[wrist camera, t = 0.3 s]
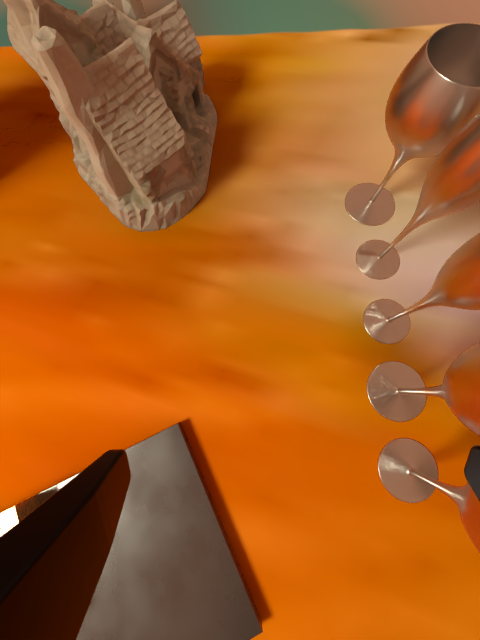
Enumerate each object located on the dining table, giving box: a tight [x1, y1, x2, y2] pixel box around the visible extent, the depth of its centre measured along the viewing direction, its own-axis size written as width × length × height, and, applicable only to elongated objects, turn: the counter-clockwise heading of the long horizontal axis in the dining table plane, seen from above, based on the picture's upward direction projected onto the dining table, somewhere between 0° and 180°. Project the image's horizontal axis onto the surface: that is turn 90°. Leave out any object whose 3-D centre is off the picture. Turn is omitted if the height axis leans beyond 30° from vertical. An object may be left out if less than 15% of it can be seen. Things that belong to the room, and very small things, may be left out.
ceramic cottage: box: [3, 0, 218, 232], centre depth 21 cm, size 16×16×15 cm
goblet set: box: [345, 23, 480, 553], centre depth 17 cm, size 28×6×13 cm, turn 1°
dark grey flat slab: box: [0, 422, 262, 640], centre depth 18 cm, size 14×20×3 cm
